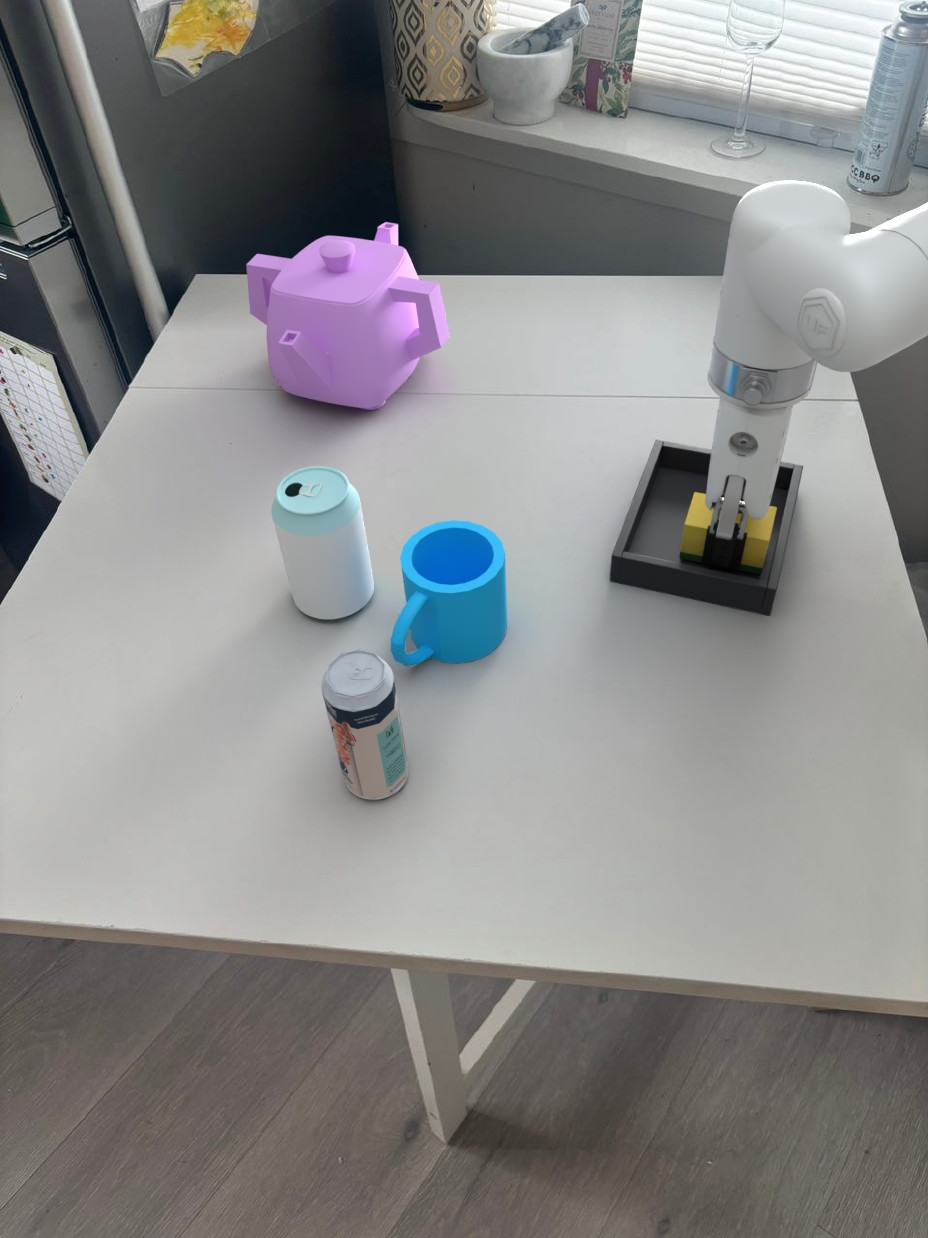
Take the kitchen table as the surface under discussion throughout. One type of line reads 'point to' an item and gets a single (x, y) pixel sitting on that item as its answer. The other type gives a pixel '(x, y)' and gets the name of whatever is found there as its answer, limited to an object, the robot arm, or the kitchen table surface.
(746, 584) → the tray
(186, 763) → the kitchen table surface
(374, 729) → the beer can
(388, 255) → the teapot
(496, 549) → the mug
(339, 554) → the can
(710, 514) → the sponge
